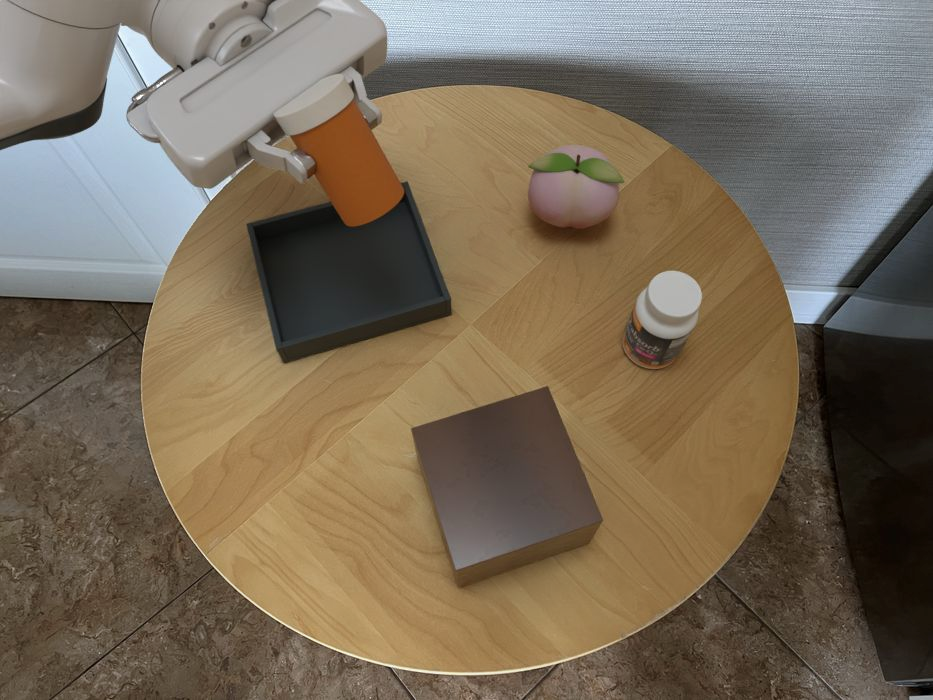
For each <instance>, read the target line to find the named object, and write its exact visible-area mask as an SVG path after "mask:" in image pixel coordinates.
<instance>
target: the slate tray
mask: <svg viewBox="0 0 933 700" xmlns="http://www.w3.org/2000/svg"><path fill="white" fill-rule="evenodd" d="M400 183H401V185H402V187H403V188H404V195H403V197H402V199H401V200H400V201H399V203H398V204H397V205H396V206H395V207H393V208H392V209H391V210H390V211H388V212H387V213H386V214H384V215H383V216H381V217H379V218H377V219H375V220H373V221H371V222H369V223H366V224H363V225H360V226H354V227H351V226H347V225H345V223H344V222H343V220H342V219H341V217H340V216H339V214H338V212H337V211H336V209H335V208H334V206H333V204H332V203H331V201H330V200H329V201H328V202H323V203H319V204H316V205H312V206H308V207H305V208H300V209H297V210H296V209H295V210H293V211H290V212H285V213H281V214H278V215H274V216H269V217H267V218H263V219H259V220H255V221H252V222H247V223H246V224H245V225H246V230H247V233H248V238H249V241H250V246H251V250H252V254H253V259H254V263H255V266H256V271H257V275H258V279H259V283H260V288H261V292H262V296H263V300H264V305H265V308H266V313H267V317H268V320H269V325H270V329H271V332H272V337H273V341H274V345H275V350H276V352H277V354H278V356H279V357H280V359H281V361H282V363H283V364H287V363H290V362H294V361H297V360H301V359H304V358H308V357H311V356H314V355H318V354H321V353H324V352H328V351H332V350H335V349H338V348H342V347H345V346H348V345H352V344H355V343H356V344H357V343H360V342H363V341H366V340H369V339H373V338H376V337H380V336H384V335H387V334H390V333H393V332H394V333H395V332H398V331H400V330H404V329H408V328H411V327H414V326H418V325H422V324H425V323H428V322H431V321H434V320H439V319H442V318H446V317H449V316H452V315H453V310H452V297H451V295H450V292H449V289H448V287H447V284H446V282H445V281H446V280H445V278H444V275H443V273H442V271H441V267H440V265H439V262H438V259H437V257H436V255H435V252H434V249H433V245H432V243H431V241H430V237H429V236H428V232H427V230H426V227H425V225H424V222H423V219H422V217H421V214H420V210H419V208H418V206H417V203H416V200H415V198H414V195H413V192H412V190H411V186H410V184H409V181H408V180H406V181H403V182H400Z"/></svg>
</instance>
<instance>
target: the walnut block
mask: <svg viewBox="0 0 933 700" xmlns="http://www.w3.org/2000/svg"><path fill="white" fill-rule="evenodd" d="M410 432H411V435H412V441H413V444H414V449H415V450H414V451H415V454H416V459H417V462H418V466H419V469H420V472H421V475H422V479H423V481H424V484H425V488H426V491H427V494H428V497H429V501H430V505H431V508H432V511H433V513H434V517H435V520H436V524H437V526H438V527H437V528H438V530H439V533H440V536H441V539H442V542H443V547H444V549H445V552H446V556H447V558H448V562H449V565H450V568H451V571H452V574H453V577H454V581H455V584H456V588H457V589H461V588H463V587H465V586H470V585H472V584H475V583H478V582H481V581H484V580H486V579H489V578H493V577H496V576H499V575H501V574H505V573H507V572H510V571H513V570H516V569H519V568H523V567H525V566H528V565H531V564H534V563H536V562H540V561H542V560H545V559H548V558H551V557H554V556H557V555H560V554H563V553H567V552H569V551H572V550H574V549H577V548H581V547H584V546H586V545H590V543H591V542H592V540H593V539H594V537H595V535H596V534H597V532H598V530H599V529H600V527H601V526H602V524H603V523H604V519H603V516H602V514H601V512H600V508H599V506H598V504H597V501H596V499H595V497H594V494H593V492H592V489H591V486H590V484H589V482H588V479H587V477H586V475H585V472H584V470H583V467H582V465H581V462H580V460H579V458H578V454H577V453H576V450H575V448H574V446H573V443H572V441H571V438H570V436H569V434H568V433H569V432H568V431H567V429H566V426H565V424H564V421H563V418H562V417H561V414H560V411H559V409H558V407H557V404H556V402H555V400H554V397H553V395H552V392H551V390H550V387H549V386H548V385H547V386H542V387H540V388H536V389H533V390H531V391H527V392H524V393H520V394H517V395H514V396H511V397H508V398H504V399H501V400H497V401H495V402H491V403H488V404H485V405H482V406H478V407H475V408H472V409H469V410H466V411H462V412H459V413H456V414H452V415H449V416H446V417H443V418H439V419H436V420H434V421H430V422H427V423H423V424H420V425H417V426H413V427H411V428H410Z"/></svg>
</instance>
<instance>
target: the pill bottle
mask: <svg viewBox="0 0 933 700" xmlns="http://www.w3.org/2000/svg"><path fill="white" fill-rule="evenodd" d="M702 301H703V293H702V289H701V287H700V285H699V283H698V282H697V281H696V280H695V279H694V278H693V277H691V276H690V275H689V274H687V273H686V272H682V271H678V270H665V271H662V272H659V273H658V274H656V275H655V276H654V277H652V278H651V280H650V281H649V284H648V285H647V287H645V288H644V289H643V290H642V291H641V292H640V293H639V295H638V296H637V298H636V300H635V304H634V306H633V308H632V310H631V313H630V315H629V318H628V320H627V323H626V325H625V328H624V330H623V334H622V339H621V340H622V341H621V342H622V347H623V350H624V353H625V354H626V356H627V357H628V358H629V359H630V361H631V362H633V363H634V364H635V365H637V366H639V367H642V368H645V369H649V370H650V369H651V370H659V369H663V368H666V367H668V366H670V365H671V364H672V363H674V362H675V360H676V359H677V358H678V357H679V356H680V354H681V352H682V349H683V348H684V347H685V345H686V343H687V340H688V339H689V338H690V336H691V334H692V332H693V330H694V329H695V327H696V325H697V323H698V320H699V309H700V307H701V304H702Z"/></svg>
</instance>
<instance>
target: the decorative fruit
mask: <svg viewBox="0 0 933 700" xmlns="http://www.w3.org/2000/svg"><path fill="white" fill-rule="evenodd" d="M527 167H528V169H531V170H532V172H531V176H530V178H529V183H528V188H527V189H528V190H527V200H528V202H529V207H530V209H531V210H532V212H533V213H534V214H535V215H536V216H537V217H538V218H539V219H540V220H542V221H543V222H546V223H547V224H549V225H551V226H554V227H557V228H568V227H571V228H575V229H585V228H589V227H592V226H595V225H598V224H600V223H601V222H603V221H605V220H607V219H608V218H609V217H610V216H611V215H612V214H613V213H614V211H615V210H616V208H617V206H618V203H619V197H620V184H624V183H625V180H624V177H623V176H622V174H621V172H619V170H618V169H617V168H616V167H615V166H613V164H612V162H611V161H610V159H609V158H608V157H607V156H606V155H605V154H604V153H602V152H601V151H600V150H598V149H596V148H594V147H591V146H586V145H583V144H582V145H581V144H565V145H559V146H558V147H554V148H552V149H551V150H549V151H548V152H546V153H545V154H544V155H542V156H540V157H538V158H536V159H535V160H534V161H532V162H531V163H530V164H529V165H528V166H527Z"/></svg>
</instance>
